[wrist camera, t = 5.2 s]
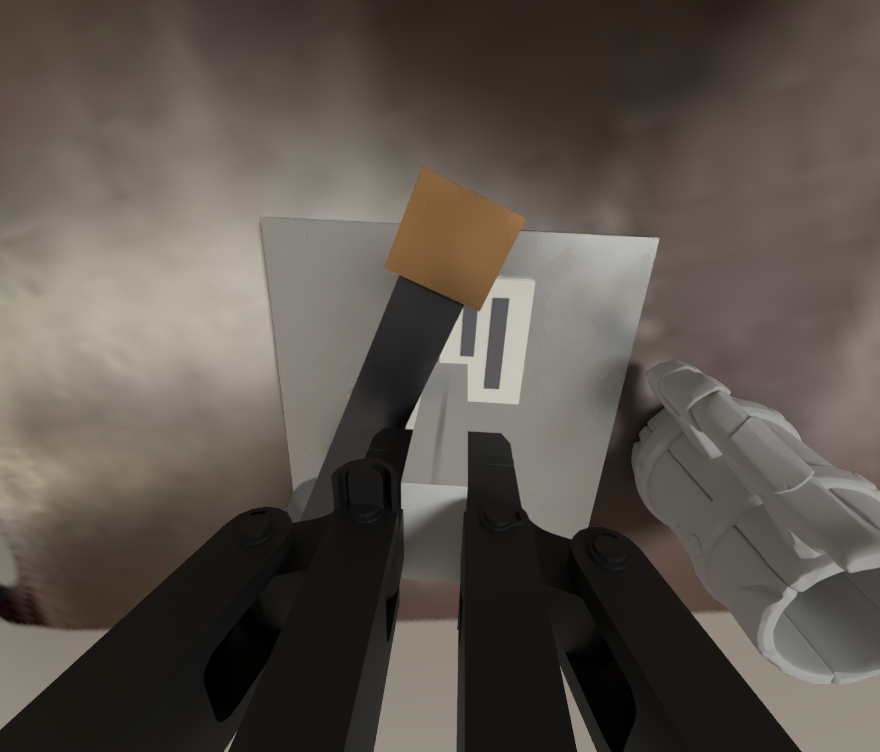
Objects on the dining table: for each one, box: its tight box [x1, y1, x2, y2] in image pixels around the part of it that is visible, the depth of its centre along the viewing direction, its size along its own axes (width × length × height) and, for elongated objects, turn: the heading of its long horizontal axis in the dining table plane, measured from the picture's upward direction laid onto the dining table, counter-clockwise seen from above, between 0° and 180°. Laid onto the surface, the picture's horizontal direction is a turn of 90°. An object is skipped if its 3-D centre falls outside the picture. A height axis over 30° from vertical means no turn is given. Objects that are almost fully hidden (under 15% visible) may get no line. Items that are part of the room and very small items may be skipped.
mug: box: [631, 360, 880, 684], centre depth 16 cm, size 8×12×12 cm, turn 36°
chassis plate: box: [260, 217, 659, 539], centre depth 21 cm, size 18×17×1 cm
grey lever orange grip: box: [300, 167, 526, 521], centre depth 14 cm, size 20×4×2 cm, turn 156°
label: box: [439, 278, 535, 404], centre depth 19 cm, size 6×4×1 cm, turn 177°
